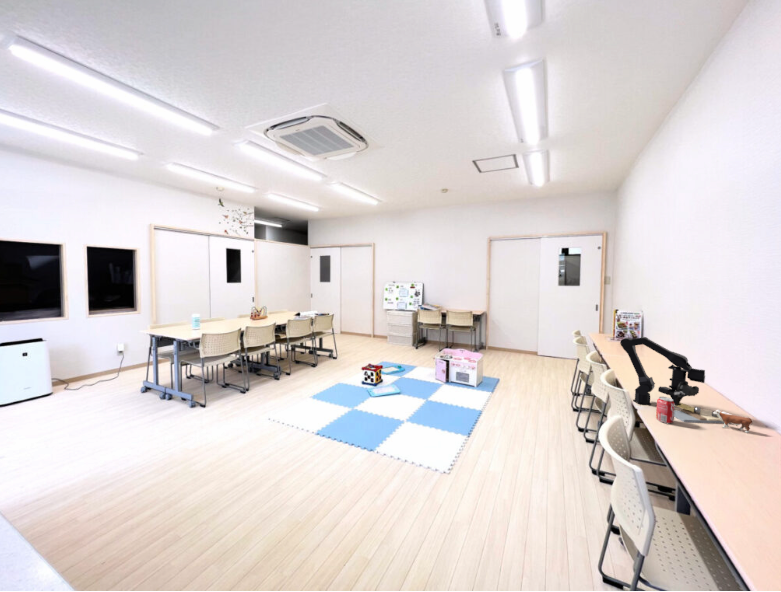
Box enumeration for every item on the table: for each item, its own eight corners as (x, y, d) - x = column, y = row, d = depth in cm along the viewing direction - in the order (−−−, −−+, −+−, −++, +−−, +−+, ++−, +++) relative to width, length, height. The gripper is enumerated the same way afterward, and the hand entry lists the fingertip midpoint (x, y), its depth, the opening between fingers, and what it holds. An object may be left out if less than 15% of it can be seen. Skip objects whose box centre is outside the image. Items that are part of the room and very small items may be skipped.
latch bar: (701, 414, 171) (701, 408, 171) (698, 414, 171) (698, 408, 170) (676, 405, 183) (676, 399, 183) (673, 405, 182) (673, 400, 182)
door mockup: (683, 422, 167) (684, 413, 167) (665, 412, 179) (665, 404, 179) (730, 423, 166) (731, 415, 165) (709, 413, 178) (709, 405, 177)
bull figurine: (712, 422, 166) (713, 407, 166) (751, 432, 157) (752, 415, 156) (711, 425, 163) (713, 409, 163) (751, 435, 154) (753, 418, 153)
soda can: (670, 420, 169) (672, 397, 168) (675, 425, 163) (677, 402, 162) (653, 417, 172) (655, 395, 171) (658, 422, 166) (659, 399, 165)
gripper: (678, 383, 170) (676, 412, 171) (709, 382, 173) (706, 411, 174) (658, 376, 181) (656, 403, 182) (687, 376, 184) (685, 403, 185)
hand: (676, 405), depth 180 cm, fingers closed
